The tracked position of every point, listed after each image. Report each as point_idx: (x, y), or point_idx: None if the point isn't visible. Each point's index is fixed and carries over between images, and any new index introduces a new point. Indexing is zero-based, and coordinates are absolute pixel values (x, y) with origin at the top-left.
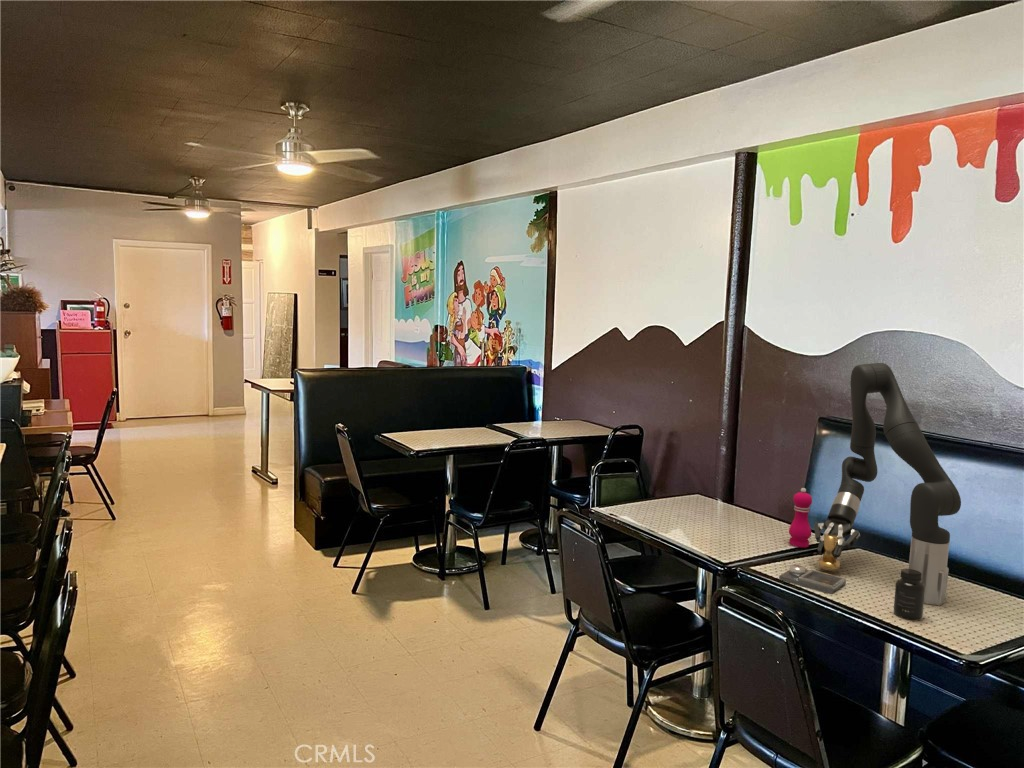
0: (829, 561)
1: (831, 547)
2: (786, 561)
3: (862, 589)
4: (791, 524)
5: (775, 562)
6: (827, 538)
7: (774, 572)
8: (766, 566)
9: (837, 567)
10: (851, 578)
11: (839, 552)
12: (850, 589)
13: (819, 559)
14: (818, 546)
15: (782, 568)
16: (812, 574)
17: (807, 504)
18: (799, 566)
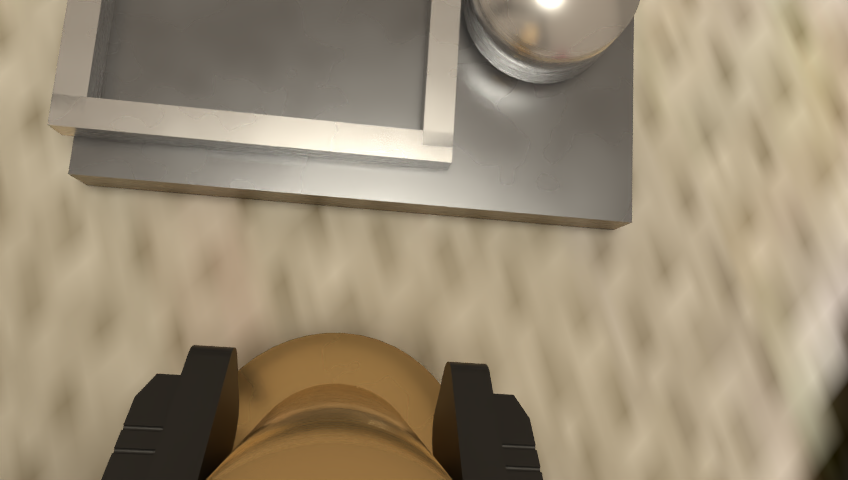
0: (308, 390)
1: (275, 420)
2: (782, 458)
3: None
4: None
5: (839, 331)
6: (377, 437)
7: (722, 30)
8: (840, 143)
9: None
10: (69, 431)
11: (125, 422)
12: (12, 56)
13: None
14: (533, 461)
15: (719, 197)
16: (413, 96)
17: None
18: (554, 12)
